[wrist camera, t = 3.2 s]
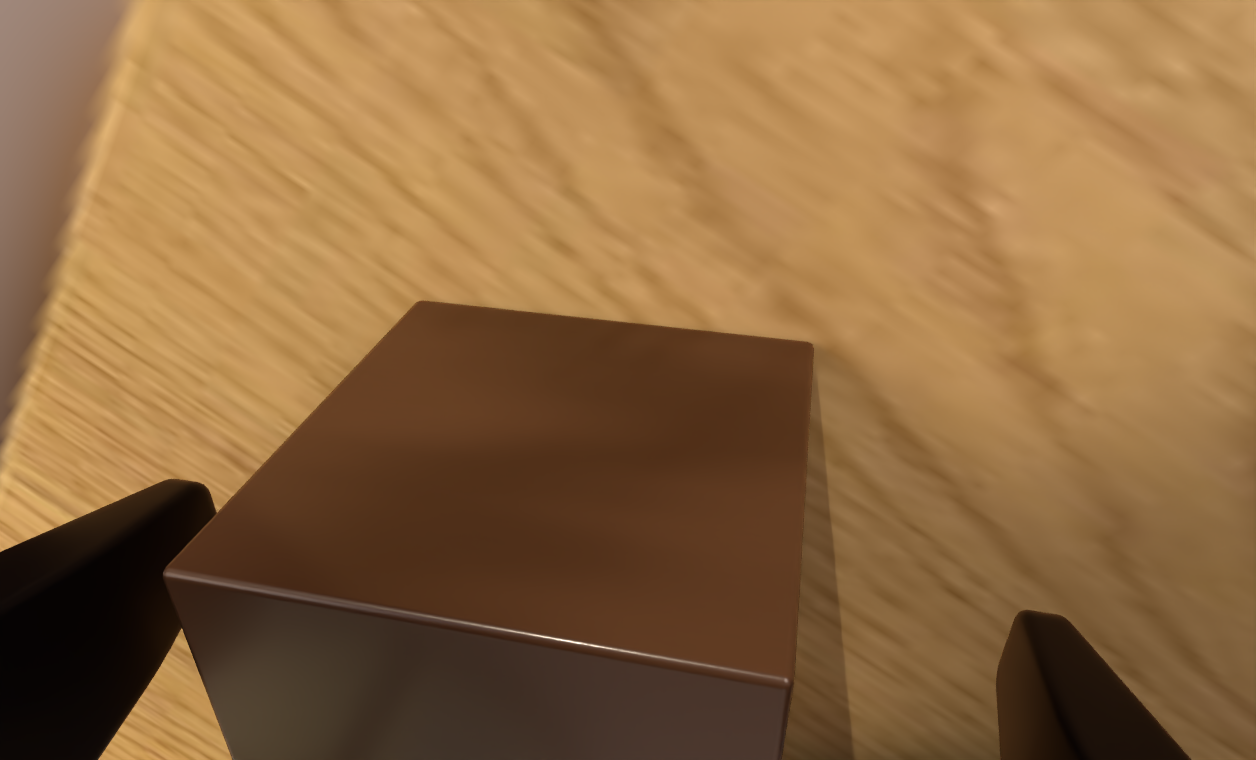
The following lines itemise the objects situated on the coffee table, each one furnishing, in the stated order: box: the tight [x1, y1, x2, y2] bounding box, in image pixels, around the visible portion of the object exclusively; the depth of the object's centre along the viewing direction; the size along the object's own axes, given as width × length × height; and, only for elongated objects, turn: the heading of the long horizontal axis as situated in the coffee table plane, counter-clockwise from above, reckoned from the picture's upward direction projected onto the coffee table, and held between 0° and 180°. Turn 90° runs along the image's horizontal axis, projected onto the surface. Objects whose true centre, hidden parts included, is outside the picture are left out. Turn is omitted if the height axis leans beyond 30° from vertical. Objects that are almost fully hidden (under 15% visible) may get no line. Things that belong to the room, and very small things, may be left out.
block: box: [163, 301, 814, 760], centre depth 9 cm, size 4×4×4 cm
